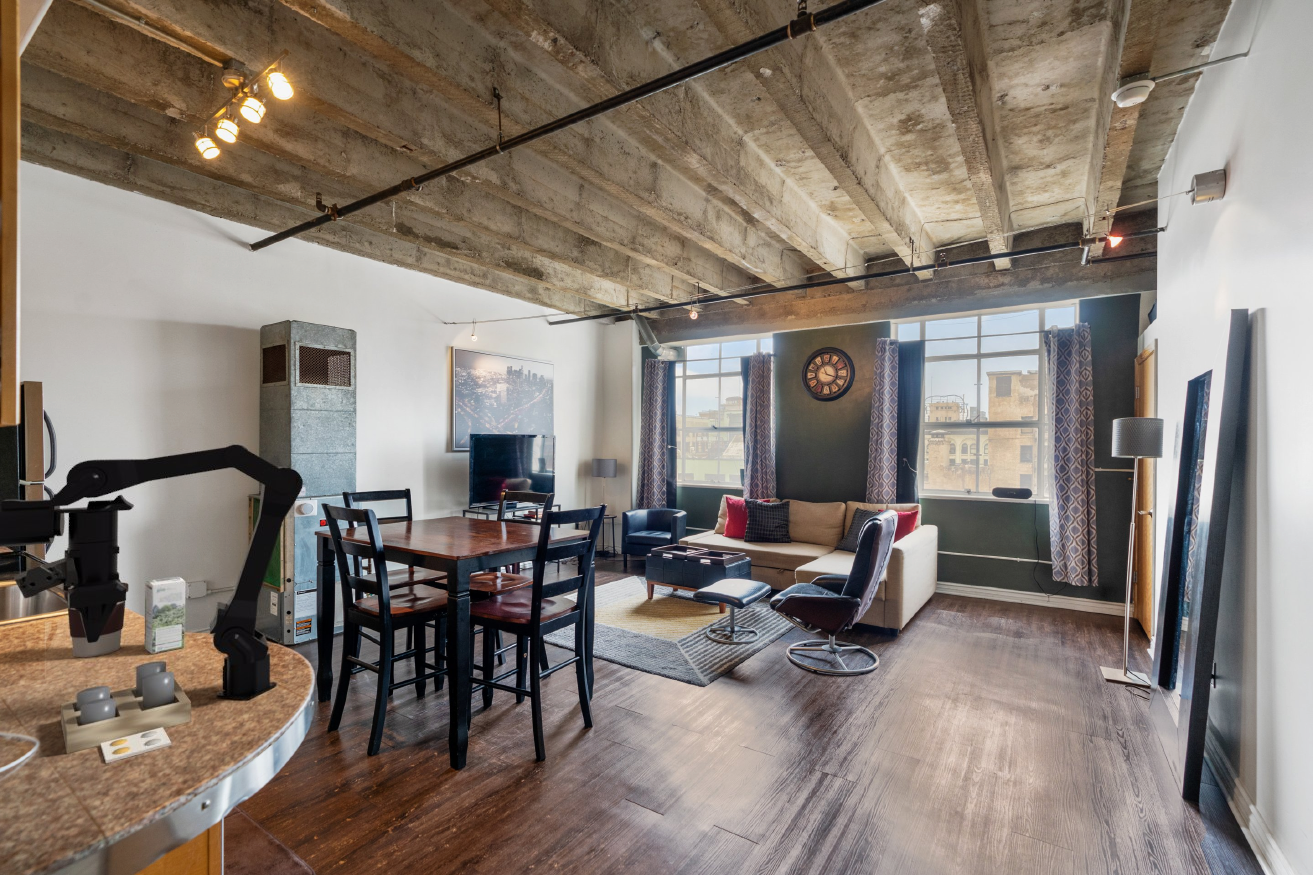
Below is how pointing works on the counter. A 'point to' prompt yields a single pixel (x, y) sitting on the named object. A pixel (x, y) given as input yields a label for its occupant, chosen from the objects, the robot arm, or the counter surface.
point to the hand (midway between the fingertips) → (92, 641)
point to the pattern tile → (134, 744)
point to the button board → (122, 719)
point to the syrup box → (164, 614)
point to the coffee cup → (108, 637)
